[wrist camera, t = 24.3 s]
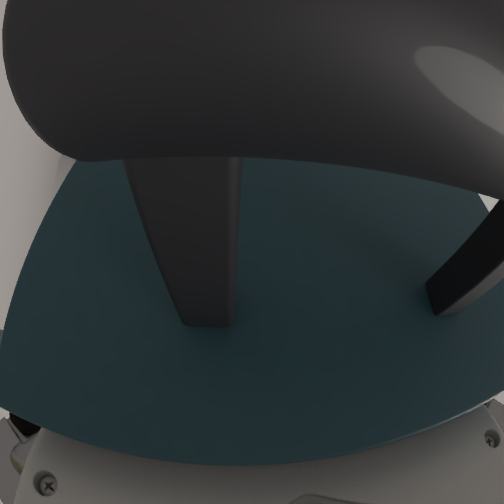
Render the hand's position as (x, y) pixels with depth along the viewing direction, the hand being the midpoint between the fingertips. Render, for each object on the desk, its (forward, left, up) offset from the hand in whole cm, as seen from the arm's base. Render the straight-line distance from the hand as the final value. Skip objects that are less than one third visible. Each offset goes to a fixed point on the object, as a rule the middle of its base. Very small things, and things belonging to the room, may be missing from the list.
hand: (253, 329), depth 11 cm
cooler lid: (+1, +7, +1) cm, 7 cm away
